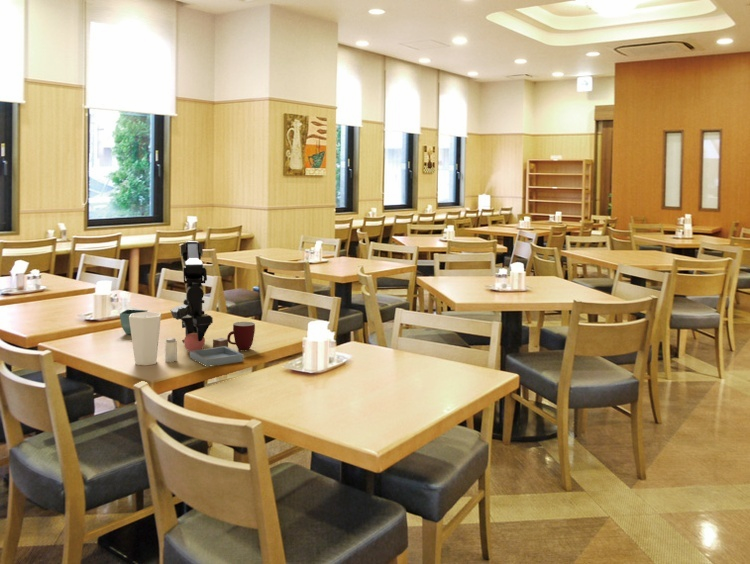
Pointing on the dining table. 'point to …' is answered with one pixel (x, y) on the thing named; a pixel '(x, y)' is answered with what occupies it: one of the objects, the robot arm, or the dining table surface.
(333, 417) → the dining table surface
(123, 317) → the flower pot
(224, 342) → the walnut block
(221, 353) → the dish
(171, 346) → the white shaker
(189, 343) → the apple
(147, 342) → the cup
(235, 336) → the mug
